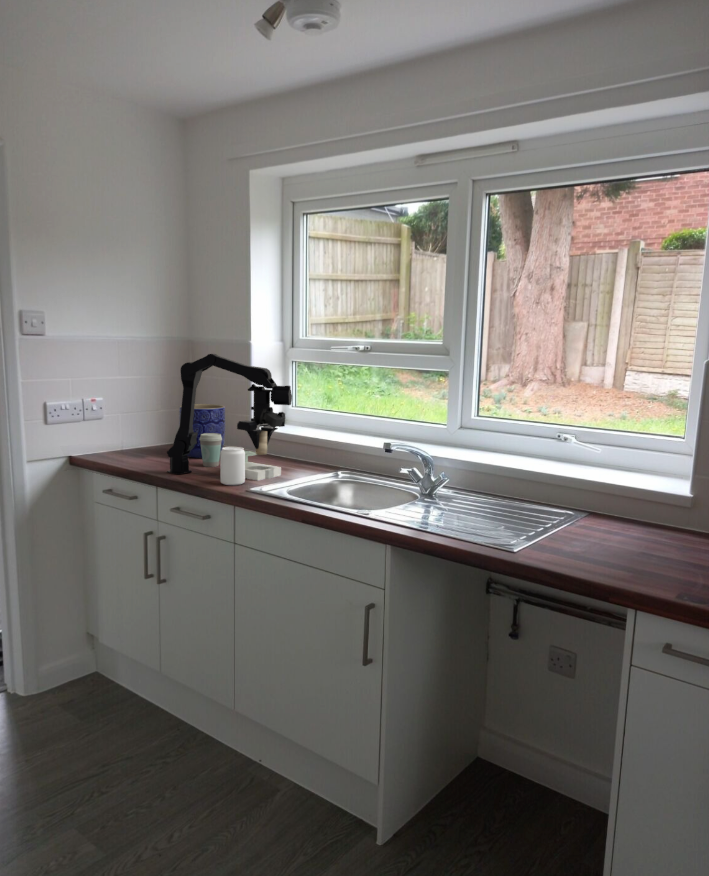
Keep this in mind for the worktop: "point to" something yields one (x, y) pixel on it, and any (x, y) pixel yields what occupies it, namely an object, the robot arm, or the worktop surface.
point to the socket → (261, 471)
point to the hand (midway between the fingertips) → (261, 448)
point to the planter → (206, 424)
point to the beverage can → (232, 466)
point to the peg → (262, 443)
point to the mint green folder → (249, 453)
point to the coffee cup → (210, 449)
